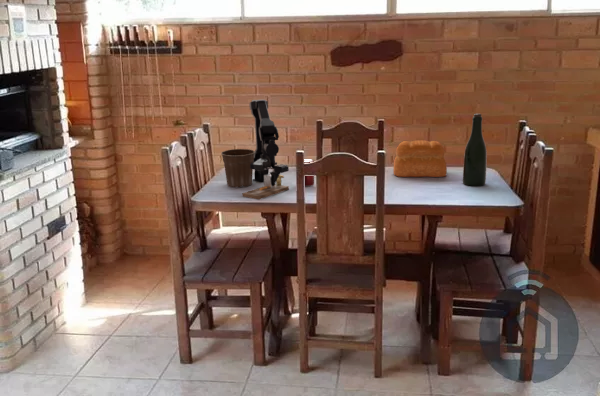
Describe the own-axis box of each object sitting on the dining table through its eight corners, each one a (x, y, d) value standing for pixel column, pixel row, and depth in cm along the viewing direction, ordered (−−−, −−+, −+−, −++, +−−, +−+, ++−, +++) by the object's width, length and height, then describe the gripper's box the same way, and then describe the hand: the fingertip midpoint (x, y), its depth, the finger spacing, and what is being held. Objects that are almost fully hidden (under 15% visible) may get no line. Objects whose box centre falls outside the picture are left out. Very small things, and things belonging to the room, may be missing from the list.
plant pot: (249, 189, 290) (248, 155, 285) (217, 188, 294) (215, 154, 290) (260, 181, 305) (259, 149, 301) (230, 180, 309) (228, 148, 305)
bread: (392, 171, 321) (393, 138, 317) (443, 171, 319) (445, 137, 314) (394, 177, 306) (394, 143, 302) (447, 178, 304) (449, 143, 299)
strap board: (272, 186, 294) (272, 183, 293) (288, 189, 288) (288, 186, 287) (242, 196, 278) (242, 192, 277) (259, 199, 272) (259, 195, 271)
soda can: (316, 183, 298) (315, 159, 295) (311, 187, 291) (311, 162, 288) (302, 182, 300) (301, 158, 297) (297, 186, 293) (296, 161, 290)
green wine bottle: (489, 183, 290) (493, 113, 282) (478, 187, 283) (482, 115, 274) (469, 180, 297) (472, 111, 289) (458, 184, 290) (461, 114, 281)
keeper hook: (278, 184, 291) (278, 174, 290) (285, 185, 289) (284, 175, 288) (275, 185, 289) (274, 175, 288) (281, 186, 287) (281, 176, 286)
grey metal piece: (268, 186, 287) (268, 174, 285) (275, 187, 284) (274, 175, 283) (256, 190, 280) (255, 177, 279) (263, 191, 278) (262, 178, 276)
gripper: (241, 152, 279) (242, 186, 283) (273, 156, 268) (274, 191, 272) (257, 148, 288) (258, 181, 292) (288, 152, 277) (289, 186, 281)
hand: (269, 185), depth 284 cm, fingers closed on grey metal piece, 4 cm apart
